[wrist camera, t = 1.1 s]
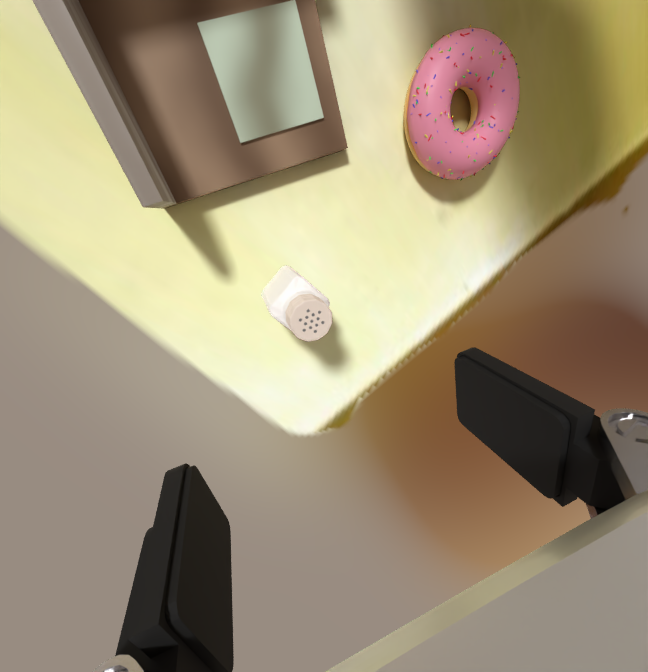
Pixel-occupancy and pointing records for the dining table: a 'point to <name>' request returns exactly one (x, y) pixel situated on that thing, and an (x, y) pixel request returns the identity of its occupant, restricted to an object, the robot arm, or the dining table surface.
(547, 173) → the dining table surface
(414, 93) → the doughnut
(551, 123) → the dining table surface
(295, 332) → the salt shaker
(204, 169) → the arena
